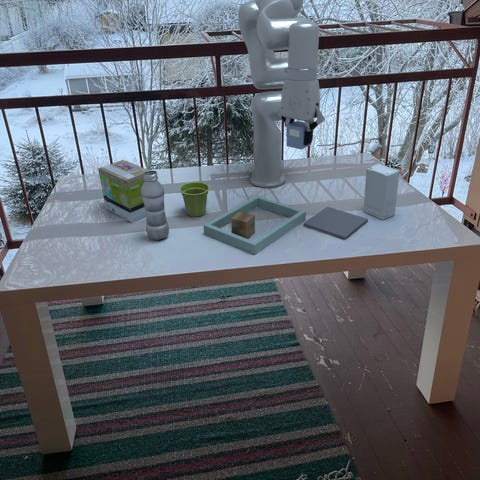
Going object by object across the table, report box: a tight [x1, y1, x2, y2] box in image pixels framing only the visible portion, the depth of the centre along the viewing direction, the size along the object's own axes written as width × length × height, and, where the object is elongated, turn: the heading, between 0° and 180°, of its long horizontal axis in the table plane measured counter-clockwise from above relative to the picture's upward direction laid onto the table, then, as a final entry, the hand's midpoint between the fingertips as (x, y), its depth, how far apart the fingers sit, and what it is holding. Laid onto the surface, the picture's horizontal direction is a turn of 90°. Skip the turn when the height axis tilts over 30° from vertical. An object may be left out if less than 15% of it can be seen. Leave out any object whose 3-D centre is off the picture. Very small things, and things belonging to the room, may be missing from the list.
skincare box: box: [362, 163, 400, 221], centre depth 144 cm, size 8×6×15 cm
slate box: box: [285, 120, 312, 150], centre depth 130 cm, size 5×5×6 cm
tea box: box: [97, 159, 150, 224], centre depth 149 cm, size 15×10×15 cm, turn 47°
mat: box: [302, 206, 369, 241], centre depth 142 cm, size 14×14×1 cm
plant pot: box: [179, 181, 211, 217], centre depth 149 cm, size 9×9×9 cm
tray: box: [203, 195, 307, 255], centre depth 141 cm, size 19×25×3 cm
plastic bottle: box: [141, 170, 170, 240], centre depth 133 cm, size 6×7×20 cm
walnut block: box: [230, 212, 256, 240], centre depth 136 cm, size 5×5×6 cm
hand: (299, 141), depth 131 cm, fingers closed on slate box, 5 cm apart
